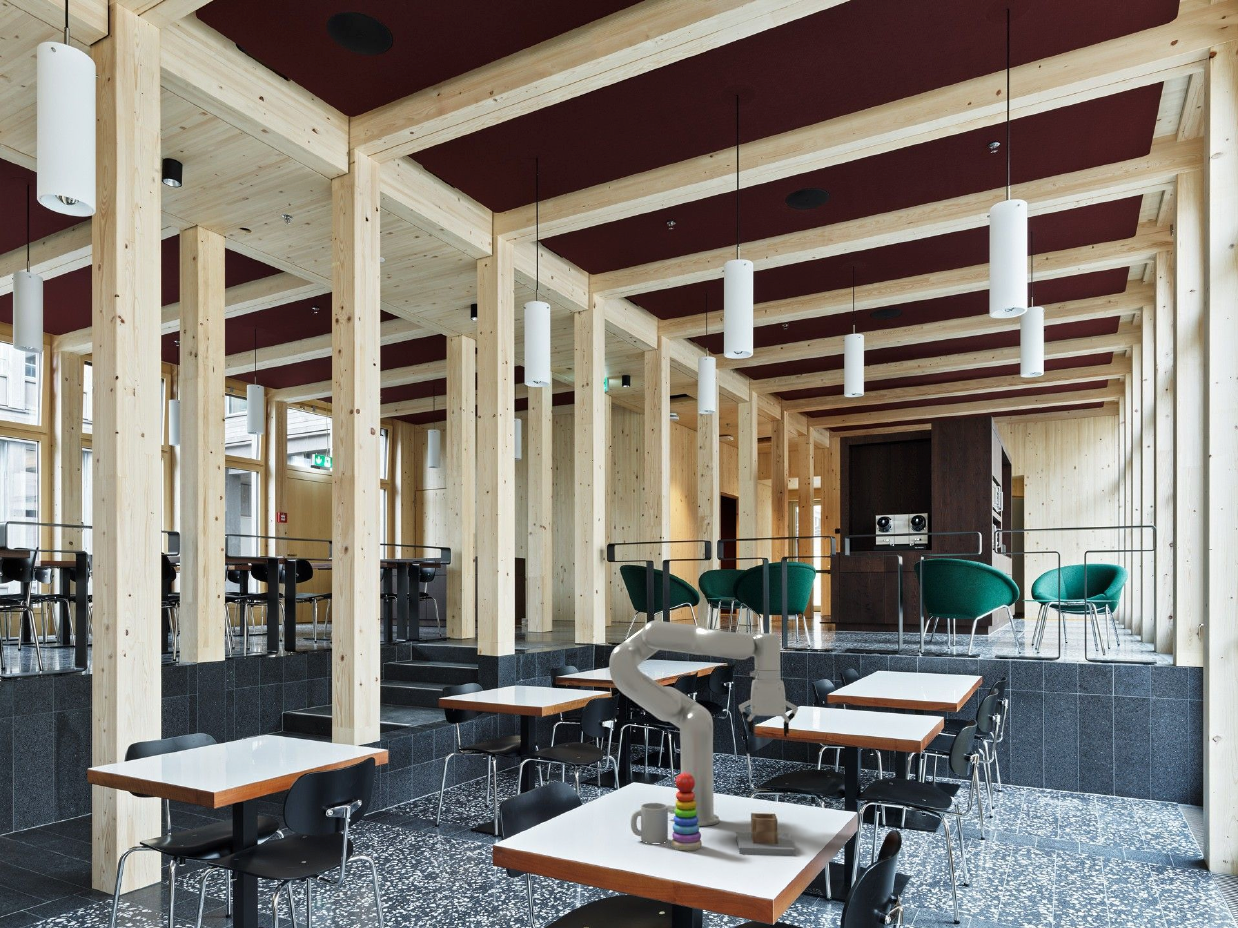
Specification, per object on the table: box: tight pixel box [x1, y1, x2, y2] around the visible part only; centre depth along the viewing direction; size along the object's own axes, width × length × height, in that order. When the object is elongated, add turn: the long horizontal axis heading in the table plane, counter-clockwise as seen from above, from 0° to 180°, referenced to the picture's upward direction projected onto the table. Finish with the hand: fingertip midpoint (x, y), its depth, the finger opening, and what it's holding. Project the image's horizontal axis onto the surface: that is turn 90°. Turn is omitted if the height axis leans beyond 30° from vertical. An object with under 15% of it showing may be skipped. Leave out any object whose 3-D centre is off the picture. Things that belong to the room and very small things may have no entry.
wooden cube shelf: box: [750, 812, 779, 844], centre depth 228 cm, size 6×6×6 cm
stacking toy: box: [671, 772, 703, 851], centre depth 227 cm, size 8×8×19 cm
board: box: [735, 831, 796, 856], centre depth 227 cm, size 14×15×5 cm
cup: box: [630, 802, 669, 844], centre depth 232 cm, size 7×10×9 cm
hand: (768, 735), depth 253 cm, fingers open, 9 cm apart
